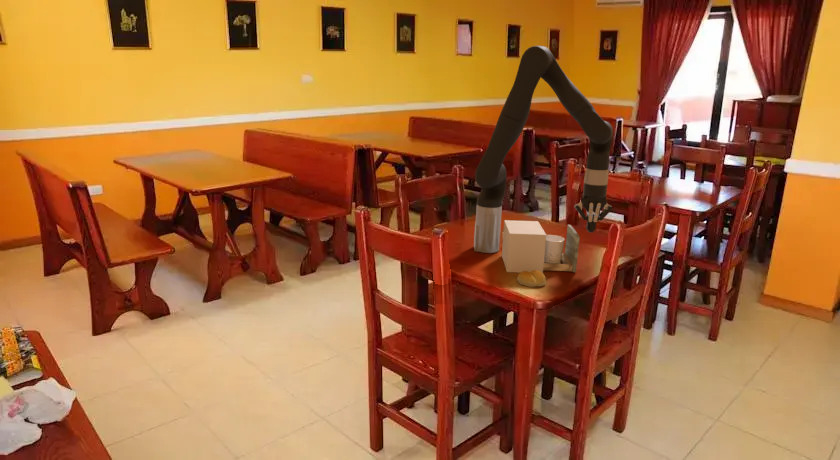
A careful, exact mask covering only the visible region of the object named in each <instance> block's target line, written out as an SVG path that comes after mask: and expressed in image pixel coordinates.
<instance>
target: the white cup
mask: <svg viewBox="0 0 840 460" xmlns="http://www.w3.org/2000/svg"><path fill="white" fill-rule="evenodd" d="M565 241H566V238H565V237H563V236H561V235H556V234H546V244H545V255H544V263H551V264H562V260H561V259H562V253H563V252H564V248H565V247H564V245H565Z"/></svg>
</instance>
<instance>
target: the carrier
mask: <svg viewBox="0 0 840 460" xmlns="http://www.w3.org/2000/svg"><path fill="white" fill-rule="evenodd" d="M580 237H581V236H580V235H579V233H578V232H577V231H576V229H575V228H574V227H573V226H572V224H567V228H566V238H565V247H564V248H565V249H564V253H562V259H561V262H562V263H560V264H551V263H544V266H543V271H554V272H555V271H557V272H562V271H563V272H572V273H577V264H578V257H579V247H580V240H581V239H580Z"/></svg>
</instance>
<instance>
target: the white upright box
mask: <svg viewBox="0 0 840 460" xmlns="http://www.w3.org/2000/svg"><path fill="white" fill-rule="evenodd" d="M502 235H503V236H502V247H501V248H502V249H501V250H502V251H501V257H502V260H503V261H502V262H503V264H504V267H505V270H506V272H507V273H521V272H522V271H528V272H531V271H533V270H537V271H540V272H542V273H543V274H544V270H543V266H544V255H545V244H546V235H547V233H546V232H545V230H544V228H543V227H542V226H541V224H540V222H539V221H537V220H508V219H505V220H503V234H502Z"/></svg>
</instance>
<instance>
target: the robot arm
mask: <svg viewBox="0 0 840 460" xmlns="http://www.w3.org/2000/svg"><path fill="white" fill-rule="evenodd" d="M540 79H542V80H543V81H544V82H546V83H547V85H548V86H549V87H550V89H552V91H553V92H554V94H555V95H556V97H557V98H558V101H559V102H560V103H561V105H562V106H563V107H564V109H565V110H566V111H567V113H568V114H569V115H570V116H571V117H572V118H573V119H574V121H575V122H577V123H578V125H579V126H580V128H581V129H582V130H583V132H584V133H585V134H586V136H587V137H588V138H589V140H590V143H589V151H588V153H587V157H586V168H585V172H584V177H583V178H584V179H583V189H582V190H583V192H582V197H581V198H580V201H579V203H575V204H574V205H573V207H574V208H575V210H576V211H577V213H578V215H579V216H580V217H581V218H582V220H584V221H586V227H585V228H586V230H587V232H588V233H594V232H596V229H597V222H598V221H603V220H604V219H605V218H606V217H607V215H608V214H609V213H611V211H612V210H613V206H612V205H610V204H608V200H607V191H608V183H609V165H610V153H611V152H610V151H611V147H612V142H613V135H614V128H613V125H612V124H611V123H610V122H609V121H606V120H604V119H603V118H602V117H601V116H600V115H599V114H598V112H596V111H597V110H596V108H595V107H594V106H593V104H592V103H591V102H590V100H588V98H587V97H586V96H585V95H584V94H583V93H582V91H580V89H579V88H578V87H577V86H576V85H575V84H574V83H573V81H571V79H570V78H569V77H568V76H567V74H566V73H565V72H564V71H563V69H562V67H561V66H560V65H559V63H558V61H557V60H556V58H555V56H554V54H553V53H552V52H551V50H550V49H549V48H548V47H547V46H544V45H534V46H533V45H532V46H530V47H528V48H527V49H526V50H525V51H524V52H523V53H522V56H521V59H520V61H519V66H518V69H517V73H516V76H515V79H514V82H513V84H512V87H511V89H510V91H509V92H508V95H507V98H506V99H505V102H504V104H503V107H502V109H501V111H500V113H499V115H498V119H497V121H496V124H495V126H494V129H493V132H492V134H491V136H490V140H489V142H488V146H487V148H486V150H485V152H484V154H483V156H482V158H481V160H480V161H479V163H478V165H477V167H476V170H475V171H474V172H475V173H474V179H475V183H476V184H477V185H478V186H479V187H480V188H481V190H480V192H479V194H478V195H477V197H476V198H477V199H476V210H475V211H476V212H475V214H476V215H475V223H474V233H473V234H474V236H473V249H474V252H479V253H483V254H484V253H485V254H493V253H497V252H499V251H500V241H501V240H500V239H501V238H500V237H501V225H502V211H503V210H502V209H503V201H504V198H505V195H506V189H507V188H506V186H507V176H508V175H507V168H506V167H505V165H504V164H503V163H504V160H505V158H506V156H507V154H508V153H509V152H510V150H511V149H512V147H513V146H514V145H515V144H516V142H517V140H518V139H519V138H520V136H521V135H522V132H523V131H524V127H525V126H526V123H527V121H528V118H529V115H530V111H531V106H532V101H533V96H534V93H535V90H536V89H537V88H536V87H537V86H538V83H539V81H540ZM583 208H584V210H585V211H586V214H585V213H584V212H583ZM601 210H602V211H601Z"/></svg>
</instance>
